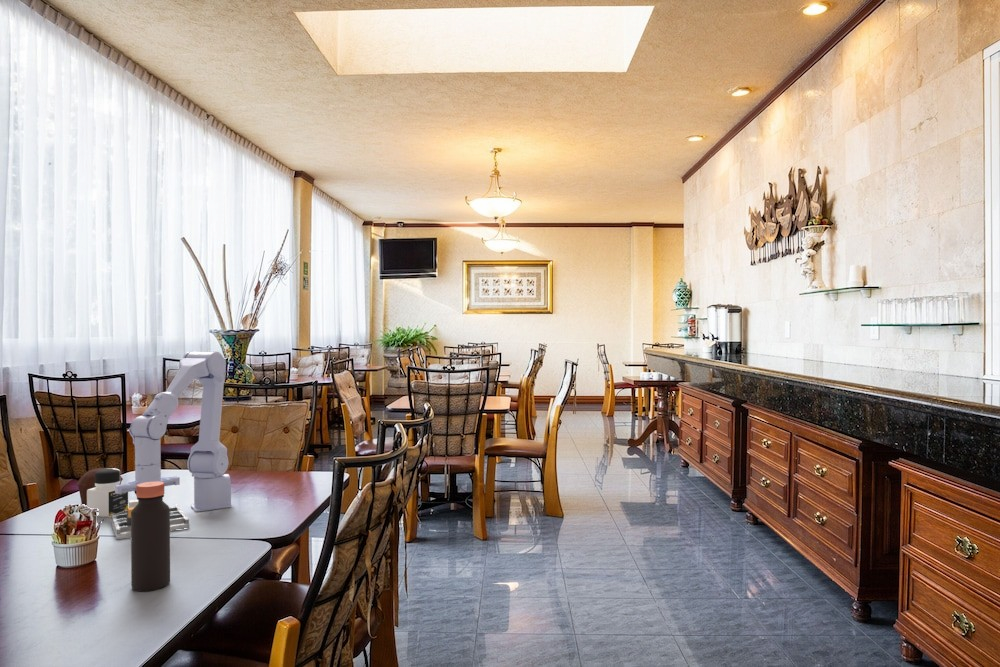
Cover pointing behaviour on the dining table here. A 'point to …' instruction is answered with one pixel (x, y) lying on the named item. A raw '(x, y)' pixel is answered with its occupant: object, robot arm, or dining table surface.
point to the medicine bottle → (107, 493)
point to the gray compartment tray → (123, 531)
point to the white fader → (132, 504)
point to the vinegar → (150, 538)
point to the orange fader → (129, 516)
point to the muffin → (88, 483)
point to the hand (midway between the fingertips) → (148, 517)
